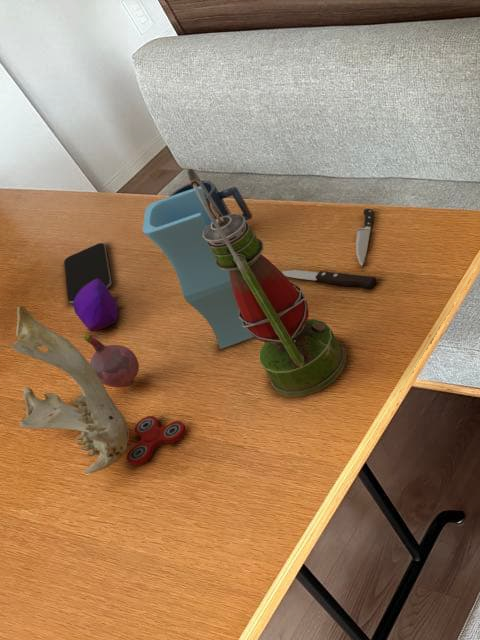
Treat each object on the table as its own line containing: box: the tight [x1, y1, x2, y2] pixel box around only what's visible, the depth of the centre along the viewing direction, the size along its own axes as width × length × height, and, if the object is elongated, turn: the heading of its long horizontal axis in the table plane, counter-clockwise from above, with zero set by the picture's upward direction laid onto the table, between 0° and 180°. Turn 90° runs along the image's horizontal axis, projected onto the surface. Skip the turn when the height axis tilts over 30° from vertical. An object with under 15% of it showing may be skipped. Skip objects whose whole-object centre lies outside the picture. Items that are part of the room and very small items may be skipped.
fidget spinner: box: [126, 415, 187, 466], centre depth 104 cm, size 8×7×1 cm
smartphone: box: [63, 242, 113, 304], centre depth 136 cm, size 7×1×15 cm
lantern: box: [186, 168, 347, 398], centre depth 97 cm, size 14×11×30 cm
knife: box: [355, 208, 374, 267], centre depth 125 cm, size 15×1×2 cm
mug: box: [168, 179, 253, 222], centre depth 132 cm, size 11×8×9 cm
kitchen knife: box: [280, 269, 378, 289], centre depth 120 cm, size 18×1×2 cm
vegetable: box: [82, 333, 140, 388], centre depth 110 cm, size 6×6×10 cm
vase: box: [142, 186, 255, 350], centre depth 110 cm, size 8×8×20 cm
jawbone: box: [10, 304, 130, 474], centre depth 104 cm, size 25×18×10 cm
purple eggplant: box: [72, 278, 119, 332], centre depth 126 cm, size 5×5×15 cm
